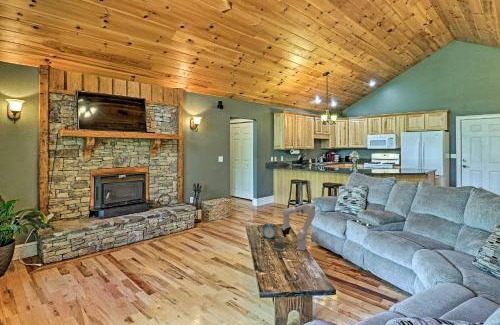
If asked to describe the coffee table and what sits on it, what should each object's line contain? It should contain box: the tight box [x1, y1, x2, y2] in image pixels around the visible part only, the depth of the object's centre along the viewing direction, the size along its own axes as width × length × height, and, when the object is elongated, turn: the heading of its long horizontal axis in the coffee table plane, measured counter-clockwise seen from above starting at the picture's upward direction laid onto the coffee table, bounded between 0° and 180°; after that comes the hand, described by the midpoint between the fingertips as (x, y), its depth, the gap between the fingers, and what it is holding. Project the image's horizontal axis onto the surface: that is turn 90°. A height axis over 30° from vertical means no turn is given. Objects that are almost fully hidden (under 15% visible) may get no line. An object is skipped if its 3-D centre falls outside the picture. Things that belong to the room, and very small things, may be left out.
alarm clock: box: [262, 223, 277, 239], centre depth 297 cm, size 13×6×15 cm, turn 88°
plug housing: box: [271, 240, 286, 250], centre depth 263 cm, size 4×12×6 cm, turn 62°
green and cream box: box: [272, 247, 287, 253], centre depth 262 cm, size 8×10×5 cm
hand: (286, 235), depth 274 cm, fingers open, 7 cm apart
